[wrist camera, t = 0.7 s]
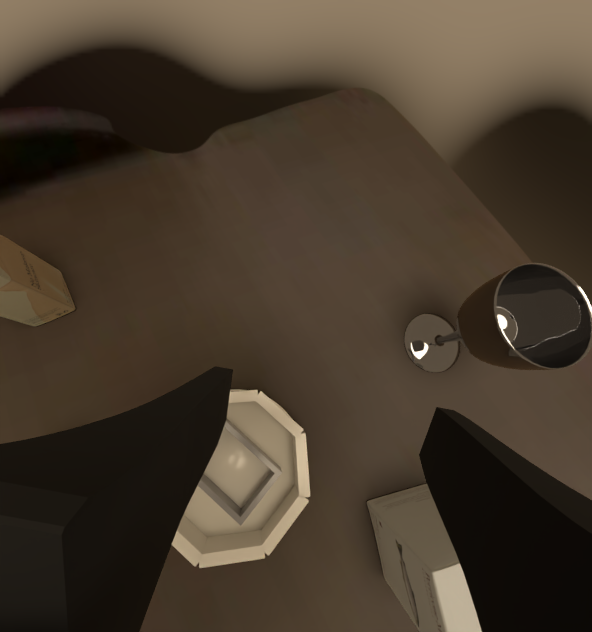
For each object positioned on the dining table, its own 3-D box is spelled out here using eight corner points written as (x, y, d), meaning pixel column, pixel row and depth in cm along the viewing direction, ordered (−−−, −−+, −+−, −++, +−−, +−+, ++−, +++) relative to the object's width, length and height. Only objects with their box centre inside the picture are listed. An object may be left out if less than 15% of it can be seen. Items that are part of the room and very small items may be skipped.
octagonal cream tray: (236, 578, 29) (233, 607, 25) (126, 473, 30) (107, 486, 26) (331, 451, 33) (341, 460, 29) (230, 361, 34) (227, 357, 30)
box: (77, 310, 33) (-9, 273, 22) (34, 328, 32) (-78, 298, 21) (59, 268, 33) (-33, 211, 23) (17, 284, 33) (-100, 233, 22)
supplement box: (363, 499, 32) (430, 568, 20) (428, 481, 33) (527, 536, 21) (381, 579, 31) (464, 706, 19) (448, 557, 32) (567, 663, 20)
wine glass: (405, 378, 36) (509, 372, 21) (396, 311, 37) (486, 263, 23) (468, 374, 37) (608, 365, 22) (457, 309, 38) (579, 261, 24)
